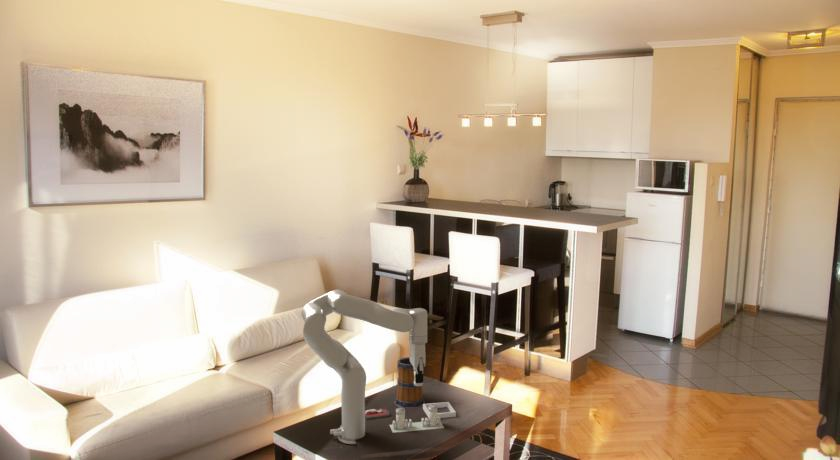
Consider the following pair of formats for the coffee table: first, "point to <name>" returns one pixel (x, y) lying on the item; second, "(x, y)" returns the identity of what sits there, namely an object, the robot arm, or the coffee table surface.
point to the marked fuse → (414, 379)
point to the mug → (407, 386)
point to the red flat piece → (376, 413)
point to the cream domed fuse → (400, 418)
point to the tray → (440, 405)
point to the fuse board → (416, 425)
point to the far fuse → (432, 415)
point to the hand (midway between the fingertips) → (418, 380)
